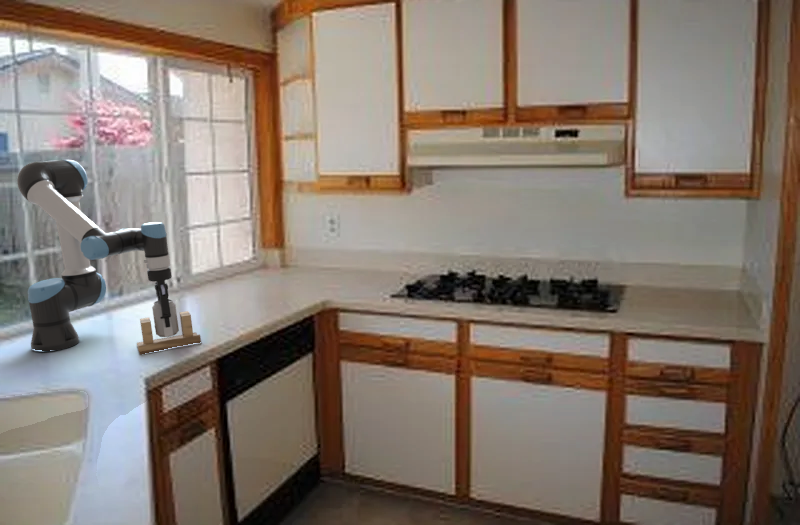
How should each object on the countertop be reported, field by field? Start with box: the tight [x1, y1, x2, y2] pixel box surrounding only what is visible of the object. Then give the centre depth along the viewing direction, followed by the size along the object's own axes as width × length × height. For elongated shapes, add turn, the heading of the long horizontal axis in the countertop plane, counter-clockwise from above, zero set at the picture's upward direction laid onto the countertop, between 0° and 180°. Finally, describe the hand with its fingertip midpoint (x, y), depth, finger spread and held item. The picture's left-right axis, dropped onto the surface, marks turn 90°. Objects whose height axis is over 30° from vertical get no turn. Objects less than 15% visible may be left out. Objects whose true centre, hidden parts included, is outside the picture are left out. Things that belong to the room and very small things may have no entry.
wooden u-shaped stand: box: [136, 310, 202, 356], centre depth 222 cm, size 12×20×10 cm, turn 115°
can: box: [151, 298, 180, 338], centre depth 222 cm, size 8×8×12 cm
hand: (167, 332), depth 223 cm, fingers closed on can, 7 cm apart
